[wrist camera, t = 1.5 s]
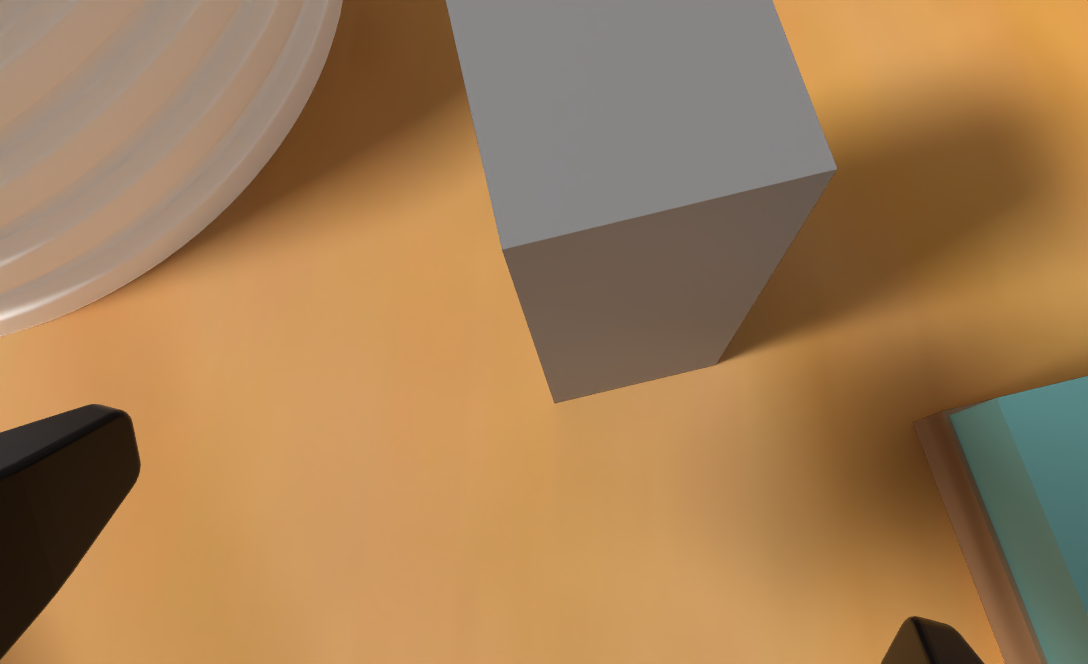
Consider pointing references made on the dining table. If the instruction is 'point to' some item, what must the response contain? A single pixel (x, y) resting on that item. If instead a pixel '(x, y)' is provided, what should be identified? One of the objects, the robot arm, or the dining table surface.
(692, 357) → the grey pillar block
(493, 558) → the dining table surface
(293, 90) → the plate stack
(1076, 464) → the teal slab
